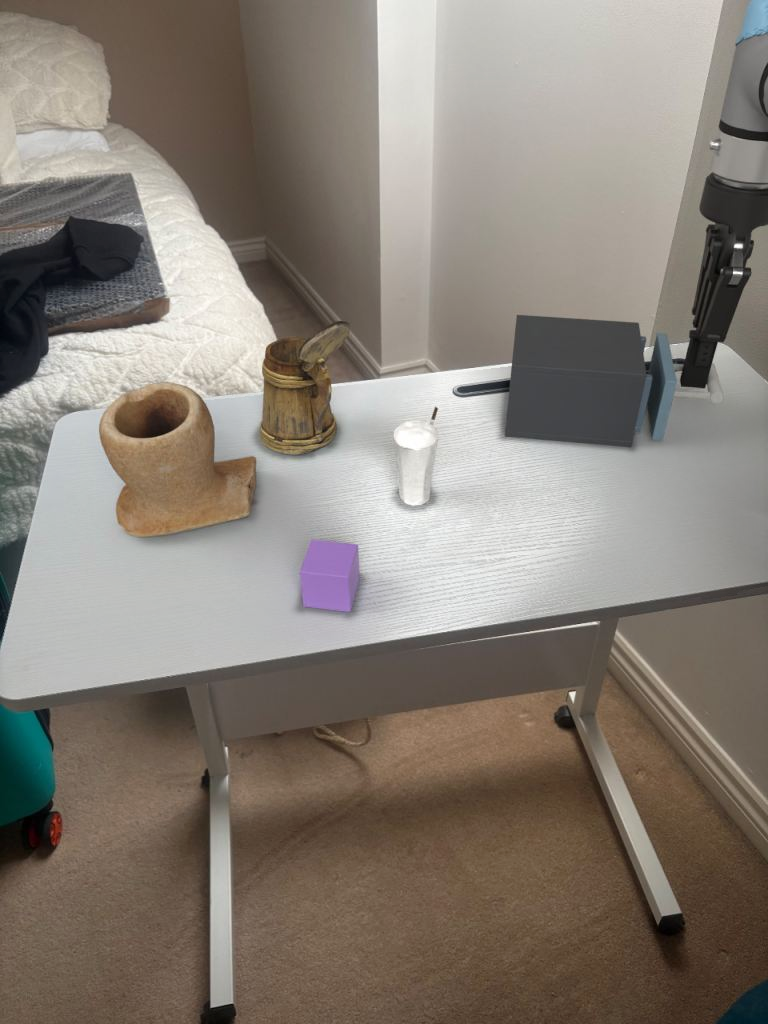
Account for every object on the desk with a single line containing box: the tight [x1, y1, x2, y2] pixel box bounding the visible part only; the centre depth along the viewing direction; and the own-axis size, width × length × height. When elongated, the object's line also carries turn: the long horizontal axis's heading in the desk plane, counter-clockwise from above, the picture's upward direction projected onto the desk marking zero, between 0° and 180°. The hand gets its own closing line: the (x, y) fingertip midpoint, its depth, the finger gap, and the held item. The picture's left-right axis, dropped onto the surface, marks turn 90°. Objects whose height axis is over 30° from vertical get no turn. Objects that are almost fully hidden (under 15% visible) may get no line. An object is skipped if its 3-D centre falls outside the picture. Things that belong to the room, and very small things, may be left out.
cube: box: [299, 539, 360, 613], centre depth 77 cm, size 4×4×4 cm
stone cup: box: [98, 381, 257, 538], centre depth 83 cm, size 15×12×15 cm
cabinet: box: [504, 314, 648, 448], centre depth 99 cm, size 15×13×10 cm
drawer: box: [634, 332, 724, 441], centre depth 98 cm, size 19×11×8 cm, turn 80°
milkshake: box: [393, 406, 439, 507], centre depth 87 cm, size 5×5×10 cm
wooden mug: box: [259, 320, 351, 456], centre depth 92 cm, size 9×14×18 cm, turn 39°
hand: (692, 384), depth 97 cm, fingers closed
